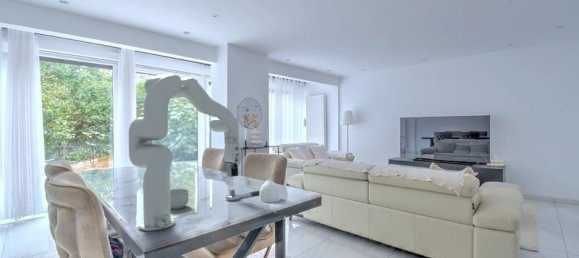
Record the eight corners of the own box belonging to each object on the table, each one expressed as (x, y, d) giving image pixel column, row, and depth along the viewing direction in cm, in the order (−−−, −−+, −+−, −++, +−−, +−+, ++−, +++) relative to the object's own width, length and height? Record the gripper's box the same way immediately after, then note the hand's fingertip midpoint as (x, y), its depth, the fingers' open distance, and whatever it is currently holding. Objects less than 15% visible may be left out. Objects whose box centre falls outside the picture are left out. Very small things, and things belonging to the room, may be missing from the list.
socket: (238, 175, 148) (238, 162, 148) (231, 177, 145) (230, 163, 145) (234, 175, 151) (233, 162, 151) (226, 176, 148) (226, 162, 148)
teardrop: (255, 201, 143) (255, 178, 143) (263, 196, 153) (263, 174, 154) (276, 202, 140) (275, 178, 140) (282, 197, 150) (282, 175, 150)
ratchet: (265, 194, 158) (265, 185, 158) (230, 202, 143) (229, 192, 143) (258, 192, 163) (258, 184, 163) (223, 199, 148) (223, 190, 148)
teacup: (192, 204, 139) (192, 188, 139) (182, 210, 128) (181, 193, 128) (166, 204, 140) (165, 188, 140) (153, 210, 129) (153, 193, 129)
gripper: (246, 140, 144) (247, 176, 144) (229, 140, 157) (230, 172, 157) (233, 141, 139) (234, 178, 139) (217, 140, 152) (218, 174, 152)
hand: (232, 174), depth 148 cm, fingers closed on socket, 4 cm apart
